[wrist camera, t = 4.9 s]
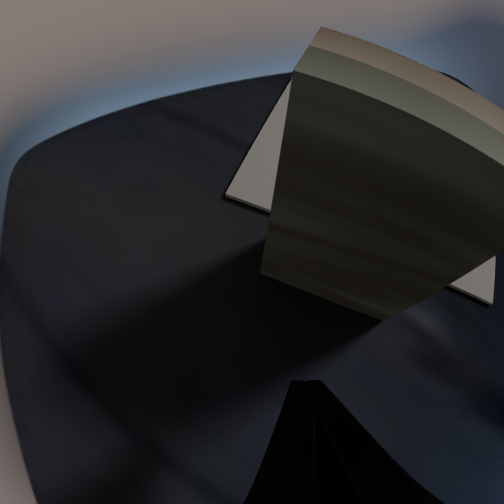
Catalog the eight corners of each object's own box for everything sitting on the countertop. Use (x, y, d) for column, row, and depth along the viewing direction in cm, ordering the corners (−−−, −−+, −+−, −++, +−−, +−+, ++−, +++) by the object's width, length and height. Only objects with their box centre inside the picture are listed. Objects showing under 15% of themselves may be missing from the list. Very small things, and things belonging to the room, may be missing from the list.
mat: (489, 304, 16) (492, 303, 16) (225, 196, 18) (225, 193, 18) (489, 163, 21) (490, 161, 21) (293, 77, 23) (294, 74, 23)
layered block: (382, 321, 16) (560, 207, 5) (260, 273, 17) (293, 70, 6) (393, 279, 17) (543, 139, 6) (276, 232, 18) (321, 26, 7)
